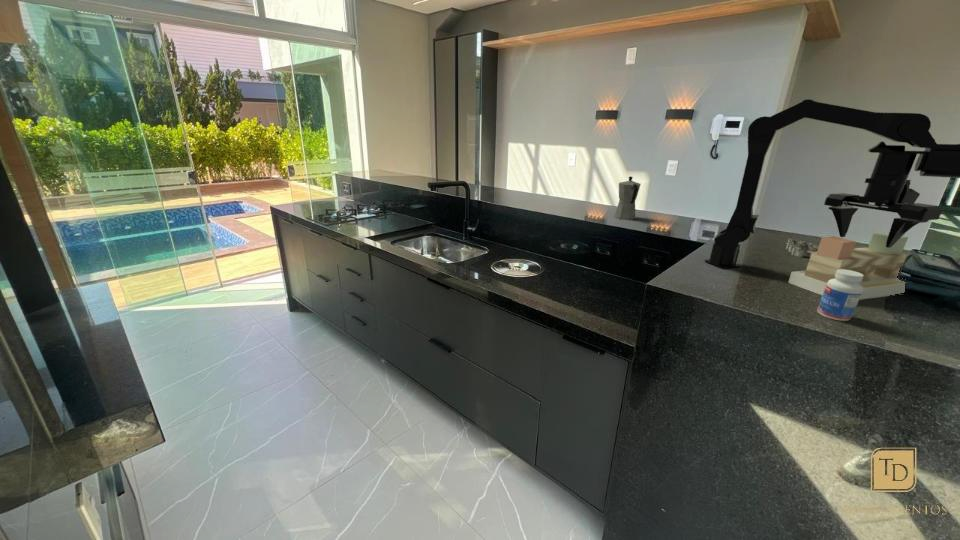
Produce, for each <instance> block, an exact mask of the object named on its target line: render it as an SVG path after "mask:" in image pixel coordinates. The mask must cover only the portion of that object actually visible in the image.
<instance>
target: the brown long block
mask: <svg viewBox="0 0 960 540" xmlns="http://www.w3.org/2000/svg"><path fill="white" fill-rule="evenodd" d="M816 253H817V252H812V254H811V257H809V259H808V263H807V266H806V269H805V270H806V272H805V276H808V277H810V278H813V279H816V280H819V281H822V282H825V283H827V282H828V281H829V280H831V279H835V278H836V277H835V274H836V272H837V270H839V269H845V270H851V271H856V272H859V273H861V274H863V275H864V276H863V279H862V281H861V282H865V281H871V279H872V276H873V274H874V275H877V276H881V277H884V278H888V279H891V278H897V276H898V277H899V275H898V273H899V274H900V272H899V270H900V267H901V266H902V267H903V265H904V262H905V261H906V258H907V256H908V254H907V253H903V252H902V253H898V254H887V253H882V252H878V251H874V250H870V249H868V247H867V246H866V247H854V250H853V252H852V255H851V258H847V259H834V258H831V257H827V256H823V255H820V254H816ZM900 271H901V270H900Z"/></svg>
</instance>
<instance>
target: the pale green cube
mask: <svg viewBox="0 0 960 540" xmlns="http://www.w3.org/2000/svg"><path fill="white" fill-rule="evenodd" d="M888 235H889V232H875V233H873V234H872V236H871V239H870V242H869V243H868V249H870V250H874V251H878V252H882V253H887V254H898V253H903V251H904V249H905V246H906V243H907V241H908V239H909V236H904V235H903V236H902V237H901V238H900V239H899V240H898V241H897V242H896V243H895V244H894V245H893V246H892V247H890V248H887V247H886V242H887V238H888Z"/></svg>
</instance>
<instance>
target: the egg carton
mask: <svg viewBox="0 0 960 540" xmlns="http://www.w3.org/2000/svg"><path fill="white" fill-rule="evenodd" d="M818 248H819V245H814V243H812V242H809V243H807V241H806V240H804V241H802V240H799V239H792V238H790V237H788V238H787V244H786V248H785V249H786V250H788V252H789V253H791V256H794V257H798V258H803V257H804V256H805V257H807V258H810V257H811V254H812V252H817V250H818Z"/></svg>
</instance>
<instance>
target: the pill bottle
mask: <svg viewBox="0 0 960 540" xmlns="http://www.w3.org/2000/svg"><path fill="white" fill-rule="evenodd" d="M863 276H864V275H863V274H861V273H859V272H856V271H851V270H845V269H839V270H837V272H836V274H835V277H836V278H835V279H831V280H829V281H828V282H827V285H826V287H825V290H824V293H823V295H821V299H820V300H819V304H818V307H817V309H816V312H817V313H818V314H819V315H821V316H823V317H824V318H827V319H830V320H836V321H842V322H846V321H847V322H848V321H849V320H851V319H852V317H853V315H854V313H855V311H856V309H857V305H858V303H859V301H860V300H859V299H860V296H861V294H862V291H863V287H862V286H861V285H860V284H859V283H860V282H861V281H862V279H863Z"/></svg>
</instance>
